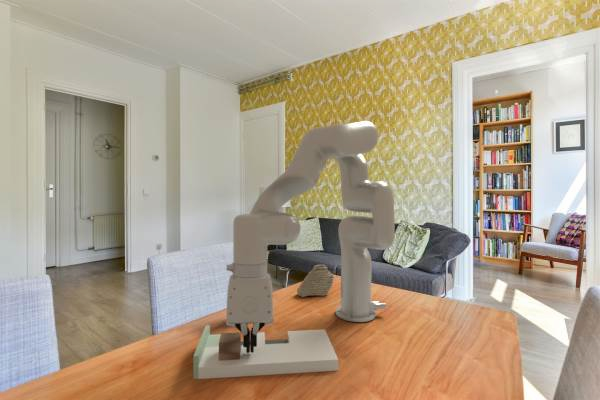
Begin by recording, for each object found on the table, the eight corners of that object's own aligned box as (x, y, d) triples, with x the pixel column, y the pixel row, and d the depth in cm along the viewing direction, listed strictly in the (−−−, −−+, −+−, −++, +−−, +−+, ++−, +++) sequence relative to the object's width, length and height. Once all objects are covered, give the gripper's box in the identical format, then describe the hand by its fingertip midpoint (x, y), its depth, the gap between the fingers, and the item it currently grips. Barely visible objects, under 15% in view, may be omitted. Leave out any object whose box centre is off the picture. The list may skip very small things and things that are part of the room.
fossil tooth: (296, 296, 122) (332, 289, 126) (300, 301, 116) (338, 293, 120) (293, 266, 122) (329, 260, 126) (297, 270, 116) (335, 263, 120)
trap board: (324, 338, 85) (324, 320, 85) (338, 370, 70) (338, 348, 70) (205, 344, 82) (205, 325, 81) (193, 379, 67) (193, 356, 67)
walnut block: (240, 349, 74) (240, 332, 74) (239, 359, 70) (239, 341, 70) (221, 350, 74) (221, 333, 74) (218, 360, 69) (218, 342, 69)
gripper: (213, 274, 67) (213, 360, 67) (284, 273, 69) (284, 356, 69) (218, 266, 74) (218, 343, 75) (282, 264, 76) (281, 340, 77)
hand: (250, 349), depth 72 cm, fingers closed
